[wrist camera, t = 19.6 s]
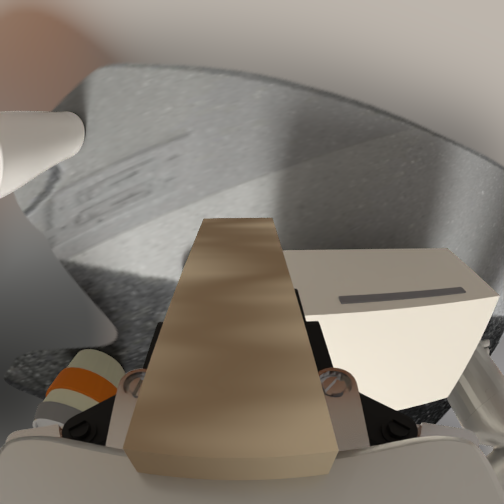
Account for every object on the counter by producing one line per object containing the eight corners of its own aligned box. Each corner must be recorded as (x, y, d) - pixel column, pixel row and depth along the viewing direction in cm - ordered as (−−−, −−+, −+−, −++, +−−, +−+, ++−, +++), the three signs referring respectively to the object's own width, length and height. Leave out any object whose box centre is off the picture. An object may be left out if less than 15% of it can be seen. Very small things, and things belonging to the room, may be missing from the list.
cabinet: (426, 229, 34) (500, 294, 21) (402, 320, 41) (447, 397, 27) (268, 229, 34) (288, 314, 20) (265, 330, 40) (276, 427, 26)
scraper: (272, 217, 14) (338, 450, 4) (263, 448, 21) (271, 574, 10) (203, 218, 14) (122, 448, 3) (224, 448, 20) (221, 574, 10)
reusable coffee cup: (125, 343, 40) (95, 428, 27) (144, 397, 46) (127, 472, 32) (55, 336, 40) (15, 408, 26) (80, 388, 45) (55, 455, 32)
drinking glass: (47, 167, 29) (-41, 212, 16) (42, 111, 26) (-53, 129, 13) (95, 160, 29) (10, 203, 16) (91, 99, 26) (-2, 105, 13)
